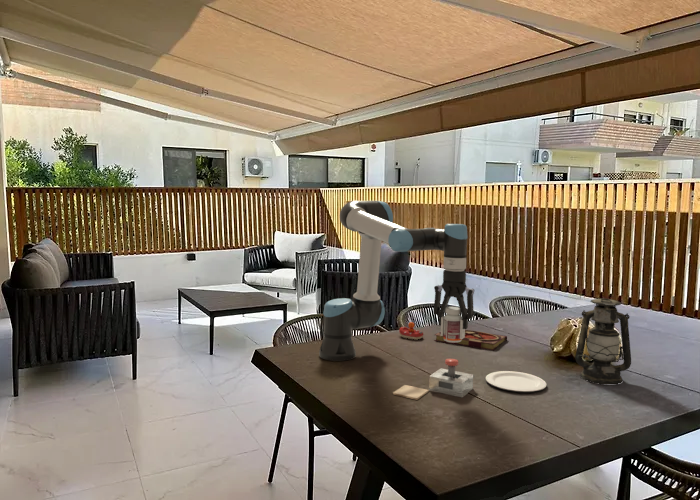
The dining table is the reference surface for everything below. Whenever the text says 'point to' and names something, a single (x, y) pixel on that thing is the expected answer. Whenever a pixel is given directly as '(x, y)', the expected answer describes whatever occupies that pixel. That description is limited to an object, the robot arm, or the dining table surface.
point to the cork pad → (410, 392)
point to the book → (477, 340)
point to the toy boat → (410, 332)
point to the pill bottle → (452, 324)
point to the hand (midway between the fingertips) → (452, 336)
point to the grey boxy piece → (451, 383)
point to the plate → (516, 381)
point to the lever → (451, 366)
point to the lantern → (604, 343)
